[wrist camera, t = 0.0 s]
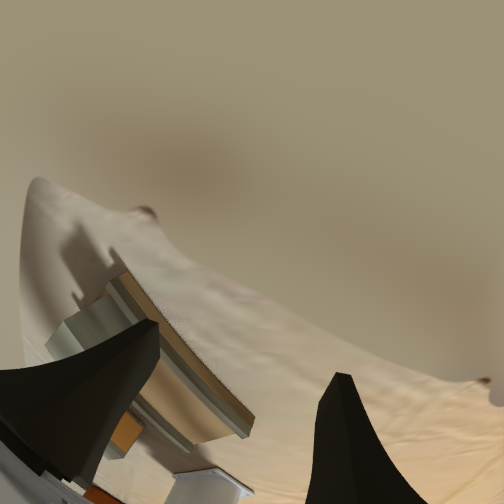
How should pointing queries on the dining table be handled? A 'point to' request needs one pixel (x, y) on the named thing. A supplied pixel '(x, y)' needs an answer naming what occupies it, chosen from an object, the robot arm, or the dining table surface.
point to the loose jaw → (123, 436)
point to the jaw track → (157, 369)
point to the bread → (99, 496)
